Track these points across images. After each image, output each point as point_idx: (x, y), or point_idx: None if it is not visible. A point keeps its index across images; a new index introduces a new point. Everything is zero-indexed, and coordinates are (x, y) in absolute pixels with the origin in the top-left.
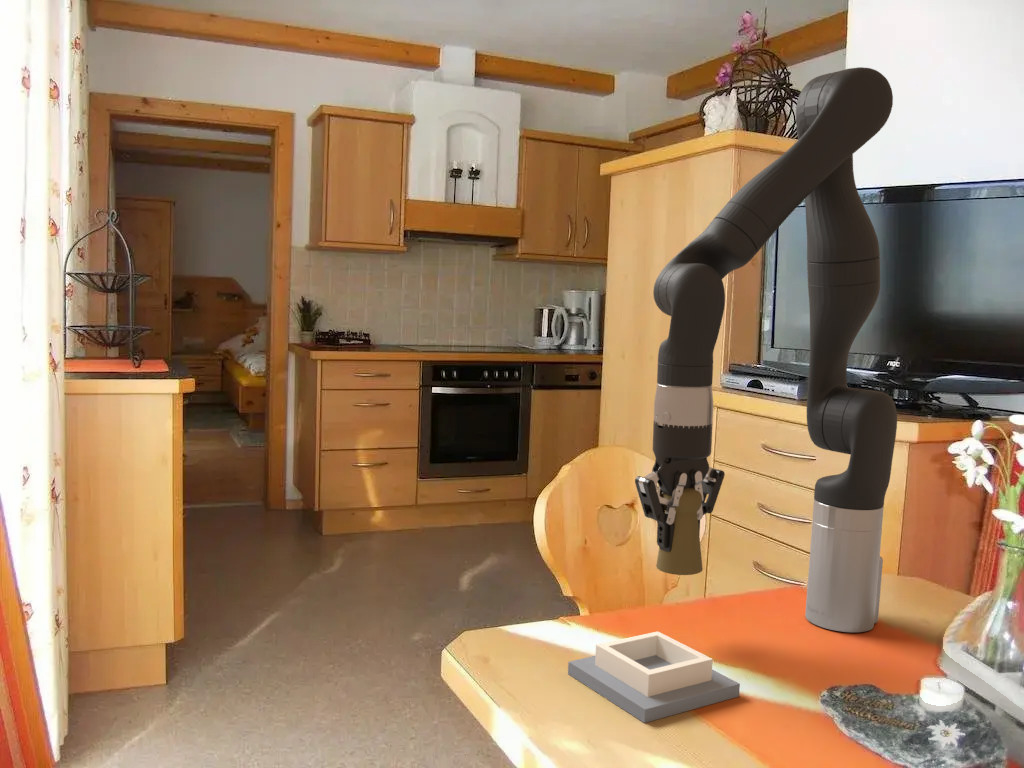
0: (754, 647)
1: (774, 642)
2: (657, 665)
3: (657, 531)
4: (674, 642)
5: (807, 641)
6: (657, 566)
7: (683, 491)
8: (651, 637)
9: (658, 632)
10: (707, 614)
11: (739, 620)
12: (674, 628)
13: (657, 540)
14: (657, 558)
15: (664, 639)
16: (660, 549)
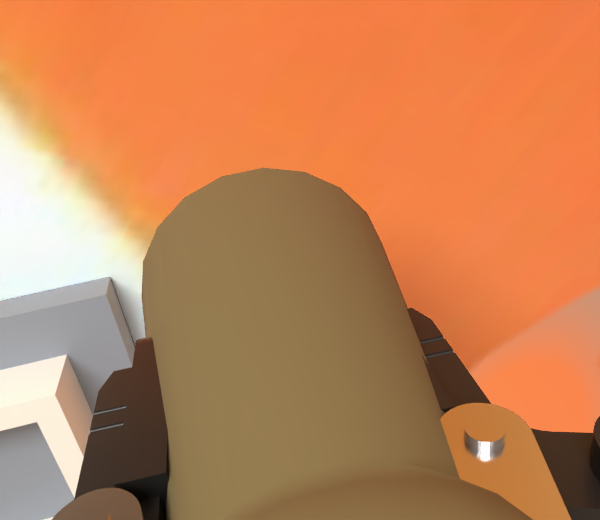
0: (409, 293)
1: (483, 275)
2: (25, 435)
3: (86, 452)
4: (72, 469)
5: (563, 286)
6: (143, 271)
7: None
8: (13, 425)
9: (52, 403)
10: (470, 9)
11: (525, 99)
12: (271, 103)
13: (99, 403)
14: (160, 249)
15: (50, 447)
16: (149, 331)
